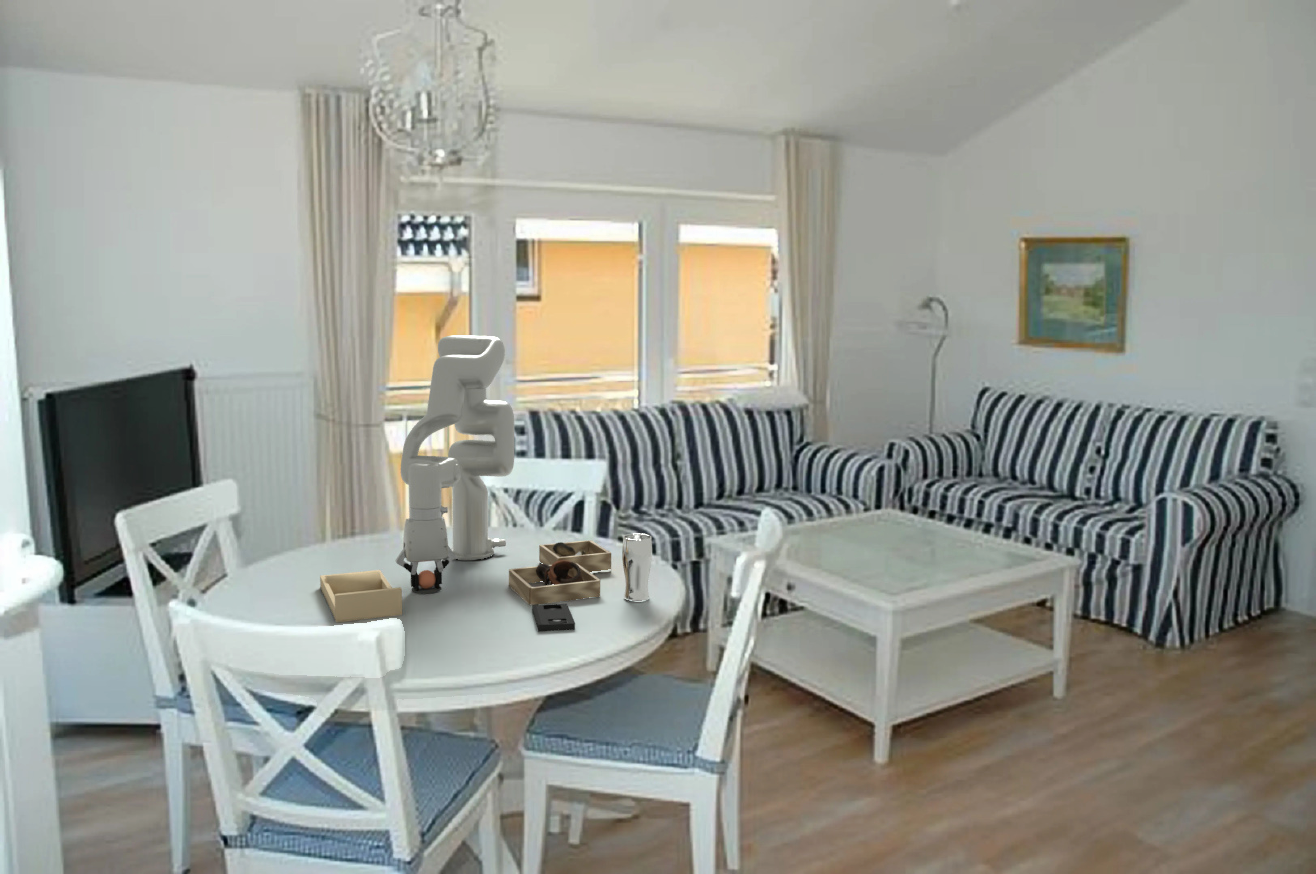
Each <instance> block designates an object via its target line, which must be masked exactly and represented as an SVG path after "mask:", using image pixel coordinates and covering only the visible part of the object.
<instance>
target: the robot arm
mask: <svg viewBox="0 0 1316 874" xmlns="http://www.w3.org/2000/svg"><path fill="white" fill-rule="evenodd" d="M437 352H438V356H439V357H438V358H436V360H435V361H434V364H433V367H432V374H431V381H430V387H429V396H428V402H427V409H426V413H425V414H424V416H423V417H422V418H421V419H419V421H418V422H416V423H415V425H414V426H413V427H412V428H411V430H410V431H409V432H408V435H407V436H406V438H405V441H404V444H403V447H402V453H401V462H400V477H401V480H402V481H403V483H404V484H405V485H408V509H409V510H408V512H409V513H408V516H409V517H408V518H406V519H405V522H404V528H403V538H402V539H403V540H402V541H403V543H402V550H401V551H400V553H399V554H398V556H397V558H396V559H395V563H396V564H397V565H399V566H401V567H402V568H404V569H405V570H406V571H407V572H408V573H410V586H411V588H412V587H413V588H414V590H415V591H418V590H419V573H418V572H417V571H418V565H419V563H422V562H432V561H433V562H434V564H435V569H434V570H433V573H434V575H435V577H436V581H435V584H434V586H435V587H436V588H437V589H439V588H440V586H441V585H443V572H444V570H445V568H447V566H448V565H449V564H450V563H451V562H452V561H454V560H456V559H458V560H457V561H474V560H473V559H481V560H485V559H484V558H486V559H488V558H487V557H489V558H491V557H492V556H491V555H493V554H494V555H495V550H494V549H495V548H496V547H497V548H500V547H501V548H502V547H506V543H507V542H506V539H505V538H504V539H499V538H494V539H493V538H491V537H489V491H488V488H487V486H486V484H485V482H484V481H483V479H482V478H481V477H507V476H509V475H511V474H512V472H513V470H514V466H515V416H514V415H515V414H514V410H513V407H512V405H511V404H510V403H508V402H507V401H504V400H495V399H493V400H490V399H487V388H488V387H489V386H491V384H492V382H493V381H494V379H495V377H496V376H497V374H498V372H499V370H500V369H501V367H502V365H503V363H504V359H505V355H506V353H505V352H506V349H505V345H504V343H503V341H502V340H501V339H500V338H499V337H497V336H491V335H489V336H487V335H459V334H457V335H456V334H455V335H447V336H444V337H442V338H440V339H439V341H438V344H437ZM452 425H454V428H455V430H456V431H457V433H459V434H462V435H467V436H468V435H469V436H482V437H483V436H486V437H488V436H490V437H493V439H494V440H482V439H481V440H480V439H462V440H458V441H454V443H452V444H451V445H450V447H449V449H448V453H447V455H448V456H439V455H438V456H437V455H419V453H420V448H421V446H422V444H423V442H424V441H425V440H426V439H427V438H428V437H430V436H431V435H433V434H434V433H436V432H438V431H440V430H442V429H445V428H447V427H449V426H452ZM445 488H447V489H448V488H451V497H452V499H451V500H452V501H451V502H452V504H451V505H452V507H451V509H452V510H451V511H452V513H451V514H452V515H451V516H452V548H451V547H450V546H449V541H448V539H449V538H448V531H447V526H446V520H445V517H443V515H444V514H447V513H449V510H448V507H446V506H442V489H445ZM494 555H493V556H494ZM490 556H491V557H490ZM405 559H406V561H407V562H406V561H405ZM408 562H409V563H408Z"/></svg>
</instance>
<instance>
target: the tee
mask: <svg viewBox="0 0 1316 874" xmlns="http://www.w3.org/2000/svg"><path fill="white" fill-rule="evenodd" d="M441 591H442V586H441V585H440V588H439V589H437V588H436V587H435V586H434V585H433V586H432V587H431V588H428V589H424V588H421V587H420V586H419V590H418V591H415V590H414V588H413V587H411V593H412V594H413V593H414V594H418V595H433V594H436V593H439V592H441Z"/></svg>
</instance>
